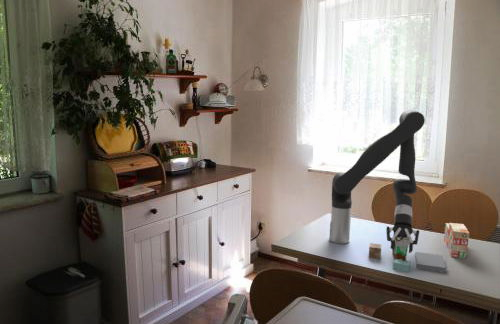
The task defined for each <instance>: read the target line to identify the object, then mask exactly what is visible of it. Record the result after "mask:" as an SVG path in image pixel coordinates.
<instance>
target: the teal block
mask: <svg viewBox="0 0 500 324" xmlns="http://www.w3.org/2000/svg"><path fill="white" fill-rule="evenodd" d="M392 264H393V266H392V269H393V270H397V271H402V272H406V273H409V271H410V269H411V264H412V263H411V262H410V261H402V260H398V259H395V261H393V263H392Z"/></svg>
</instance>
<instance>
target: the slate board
mask: <svg viewBox="0 0 500 324" xmlns="http://www.w3.org/2000/svg"><path fill="white" fill-rule="evenodd" d="M414 258H415V259H414V260H415V263H416V264H415V265H416V269H419V270H427V271H433V272H440V273H446V272H447V265H446V263H445V259H444V256H443V254H437V253H435V254H434V253H430V252H429V253H427V252H422V251H421V252H420V251H415V253H414Z"/></svg>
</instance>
